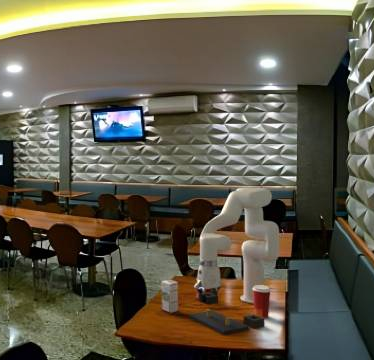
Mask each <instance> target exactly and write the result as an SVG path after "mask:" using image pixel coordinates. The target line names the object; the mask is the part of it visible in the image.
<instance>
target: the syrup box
mask: <svg viewBox="0 0 374 360" xmlns="http://www.w3.org/2000/svg"><path fill="white" fill-rule="evenodd" d="M178 287H179V285H178V281H176V280H171V279H165V280H162V281H161V310H162V311H164V312H168V313H169V314H170V313H171V314H172V313H175V312H176V313H177V312H178V310H179V291H178V289H179V288H178Z"/></svg>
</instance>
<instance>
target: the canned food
mask: <svg viewBox="0 0 374 360" xmlns="http://www.w3.org/2000/svg"><path fill="white" fill-rule="evenodd" d="M196 283H197V277H195V284H196ZM199 288H200V287H199ZM202 290H203V288H202ZM211 291H212V288H211V289H206V290H205V293H211ZM199 294H200V293H198V291H197V290H196V289H195V299H196V301H199Z"/></svg>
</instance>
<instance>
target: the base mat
mask: <svg viewBox="0 0 374 360" xmlns="http://www.w3.org/2000/svg"><path fill="white" fill-rule="evenodd" d="M188 317H189V319H191V320H192V321H195V322H197V323H199V324H201V325H203V326H205V327H207V328H209V329H211V330H213V331H215V332H217V333H219V334H221V335H224V336H225V335H229V334H234V333H239V332H245V331H249V330H250V327H249V326H247V325H245V324H244V323H242V322H240V321H239V320H236V319H233V318H231V317H229V316H226V315H224V314H222V313H219V312H217V311H215V310H211V309H210V308H206V311H203V312H196V313H190V314H188Z"/></svg>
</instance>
